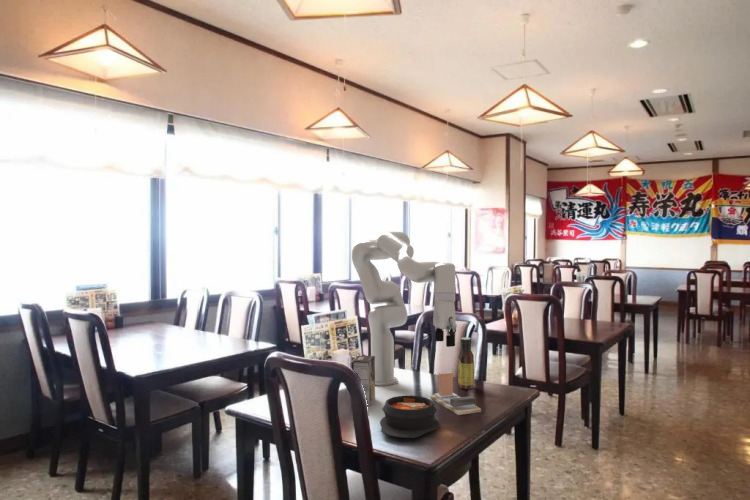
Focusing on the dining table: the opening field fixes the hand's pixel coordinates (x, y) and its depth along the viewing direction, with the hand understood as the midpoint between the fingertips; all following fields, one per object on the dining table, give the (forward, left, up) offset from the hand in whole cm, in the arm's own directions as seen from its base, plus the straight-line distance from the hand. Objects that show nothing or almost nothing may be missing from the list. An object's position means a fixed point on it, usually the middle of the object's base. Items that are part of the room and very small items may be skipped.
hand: (444, 343), depth 186 cm
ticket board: (+5, +1, -21) cm, 22 cm away
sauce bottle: (-12, +16, -21) cm, 29 cm away
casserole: (+20, -24, -21) cm, 38 cm away
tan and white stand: (-1, +1, -20) cm, 20 cm away
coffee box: (-10, -28, -21) cm, 36 cm away
